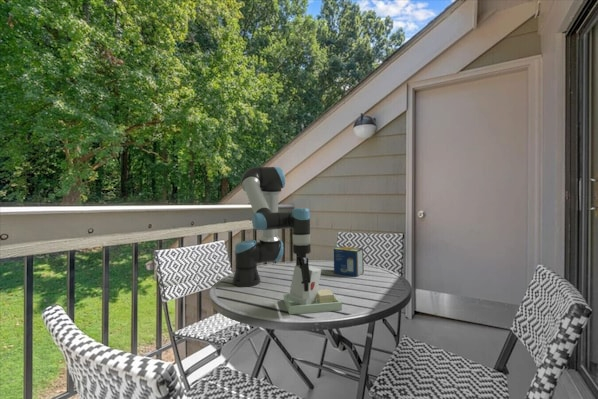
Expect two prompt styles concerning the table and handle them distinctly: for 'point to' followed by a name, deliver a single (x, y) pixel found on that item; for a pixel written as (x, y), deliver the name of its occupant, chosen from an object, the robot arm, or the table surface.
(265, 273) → the table surface
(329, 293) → the tan rectangular block
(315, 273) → the supplement box
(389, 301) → the table surface
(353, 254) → the protein box
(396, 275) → the table surface
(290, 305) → the green tray
